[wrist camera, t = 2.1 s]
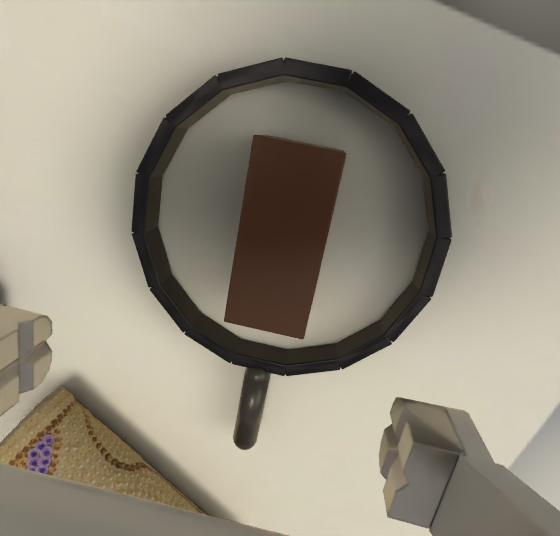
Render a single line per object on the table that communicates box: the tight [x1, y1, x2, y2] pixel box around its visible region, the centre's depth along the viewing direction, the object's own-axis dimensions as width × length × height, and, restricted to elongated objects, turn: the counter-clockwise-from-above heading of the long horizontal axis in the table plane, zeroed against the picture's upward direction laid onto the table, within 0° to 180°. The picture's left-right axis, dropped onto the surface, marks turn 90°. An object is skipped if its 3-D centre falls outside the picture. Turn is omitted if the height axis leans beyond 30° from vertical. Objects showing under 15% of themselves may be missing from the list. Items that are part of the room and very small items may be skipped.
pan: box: [132, 58, 452, 450], centre depth 25 cm, size 24×18×2 cm
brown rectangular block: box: [224, 135, 346, 339], centre depth 23 cm, size 10×4×4 cm, turn 169°
